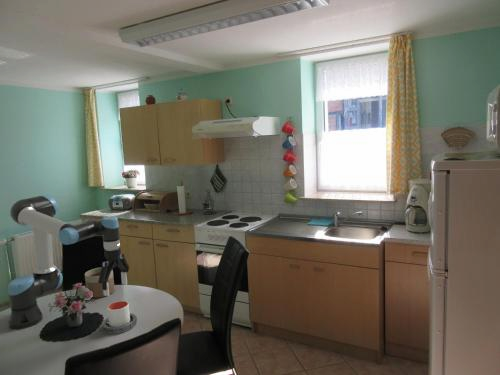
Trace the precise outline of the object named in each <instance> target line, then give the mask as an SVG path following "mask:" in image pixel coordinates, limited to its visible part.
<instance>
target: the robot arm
mask: <svg viewBox="0 0 500 375" xmlns="http://www.w3.org/2000/svg"><path fill="white" fill-rule="evenodd" d="M58 211H59V207H58V203H57V201H56V200H55V199H54V198H53V197H52V196H50V195H47V194H46V195H39V196H34V197H33V196H32V197H28V198H23V199H19V200H17V201H16V202H15V203H13V204H12V205H11V207H10V210H9V212H10V213H9V214H10V216H11V219H12V221H13V222H14V223H16V224H18V225H21V226H26V227H27V226H29V227H31V228H32V234H33V246H34V260H35V268H34V269H33V271H32V275H29V274H28V275H27V274H26V275H23V276H19V277H17V278H14V279H13V280H12V281H10V282H9V283H8V285H7V287H8V288H7V289H8V290H7V291H8V292H7V293H8V297H9V304H10V315H9V316H10V317H9V320H8V325H9V326H8V327H9V328H10V329H12V330H21V329H26V328H29V327H32V326H35V325H37V324H38V323H40V322H41V321H42V320H43V318H44V317H43V312H42V311H41V309H40V307H39V305H38V300H37V299H38V298H40V297H42V296H44V295H47V294H49V293H51V292H54V291H56V290H57V289H59V288H60V287H61V286H62V284H63V273H61V272H62V271H61V270H60V269H59V268H58V267H57V266H56V265H55V264H54V253H53V252H54V250H53V249H54V248H53V237H52V236H54V237H57V238H58V239H59V242H61V244H63V245H66V246H67V245H73V244H75V243H77V242H80V241H83V240H86V239H90V238H93V237H95V236H96V237H102V242H103V249H104V251H103V252H104V258H105V259H106V261H102V262H101V267H102V268H101V267H100V268H101V272H100V277H99V281H98V283H101V284H102V288H103V292H104V297H110V294H109V284H108V283H107V281H108V278H109V276H110V273H111V270H113V269H114V268H116V267H118V269H120V271H121V272H120V275H121V276H120V278H121V285H125V286H127V285H128V278H127V277H128V272H129V270H130V266H129V263H128V262H127V259H126V257H125V254H124V253H122V250H121V242H120V241H121V240H120V224H119V221H118V220H119V219H118V217H116V216H105V217H102V218H101V220H99V219H98V220H97V219H86V220H84V221H83V222H82V223H79V224H76V225H74V224H71V223H68V222H65V221H62V220H60V219H58V218H56V217H54V216H56V215H57V214H58ZM113 271H114V270H113Z"/></svg>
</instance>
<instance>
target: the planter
mask: <svg viewBox="0 0 500 375" xmlns="http://www.w3.org/2000/svg"><path fill="white" fill-rule="evenodd" d="M101 268H102V266H101V267H96V268H92V269H90V270H88V271H86V272H85V273H84V280H85V288H88V289H89V290H90V291H92V292H93V298H94V299H99V298H103V297H105V296H104V292H103V288H102V284H101V283H98V281H99V277H100V272H101ZM107 283H108V284H109V295H112V294H113V293H114V291H115V290H116V289H115V281H114V270H111V273H110V276H109V278H108V281H107Z"/></svg>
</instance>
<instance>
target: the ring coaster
mask: <svg viewBox="0 0 500 375" xmlns="http://www.w3.org/2000/svg"><path fill="white" fill-rule="evenodd" d="M129 313H130V312H129ZM137 321H138V319H137V315H135V314H134V313H132V312H131V313H130V322H129V323H128V324H126V325H124V326H120V327H111V326H110V325H109V318H108V317H107V318H105V319H103V321H102V323H101V328H102V330H103V332H104V333H106V334H110V335H113V334H114V335H115V334H123V333H125V332H128V331H130V330H132V329H133V328H134V327H136V326H137Z"/></svg>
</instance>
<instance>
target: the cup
mask: <svg viewBox="0 0 500 375" xmlns="http://www.w3.org/2000/svg"><path fill="white" fill-rule="evenodd" d="M107 316H108V317H107V318H109V325H110V326H111V327H120V326H124V325H126V324H128V323H129V322H130V304H129V302H128V301H125V300H118V301H114V302H111V303H110V304H109V305H108V306H107Z"/></svg>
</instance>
